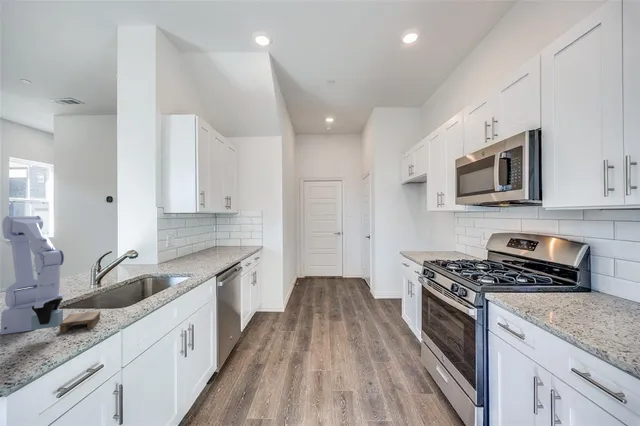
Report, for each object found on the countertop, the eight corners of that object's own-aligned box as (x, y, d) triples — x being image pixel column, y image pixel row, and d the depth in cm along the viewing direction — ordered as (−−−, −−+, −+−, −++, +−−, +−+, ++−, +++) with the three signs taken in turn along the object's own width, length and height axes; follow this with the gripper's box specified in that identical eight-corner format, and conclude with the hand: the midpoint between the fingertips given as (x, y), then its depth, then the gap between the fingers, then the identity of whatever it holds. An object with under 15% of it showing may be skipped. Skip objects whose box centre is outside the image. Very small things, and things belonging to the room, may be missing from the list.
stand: (59, 332, 100) (59, 323, 100) (69, 322, 109) (69, 314, 109) (93, 328, 105) (93, 319, 105) (100, 318, 113) (100, 310, 114)
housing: (31, 330, 92) (31, 313, 92) (36, 325, 96) (37, 309, 96) (58, 326, 95) (58, 310, 95) (62, 322, 99) (63, 306, 99)
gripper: (54, 288, 91) (53, 327, 91) (70, 278, 104) (69, 312, 104) (26, 290, 88) (24, 331, 88) (46, 280, 101) (45, 315, 101)
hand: (47, 321), depth 96 cm, fingers closed on housing, 4 cm apart
